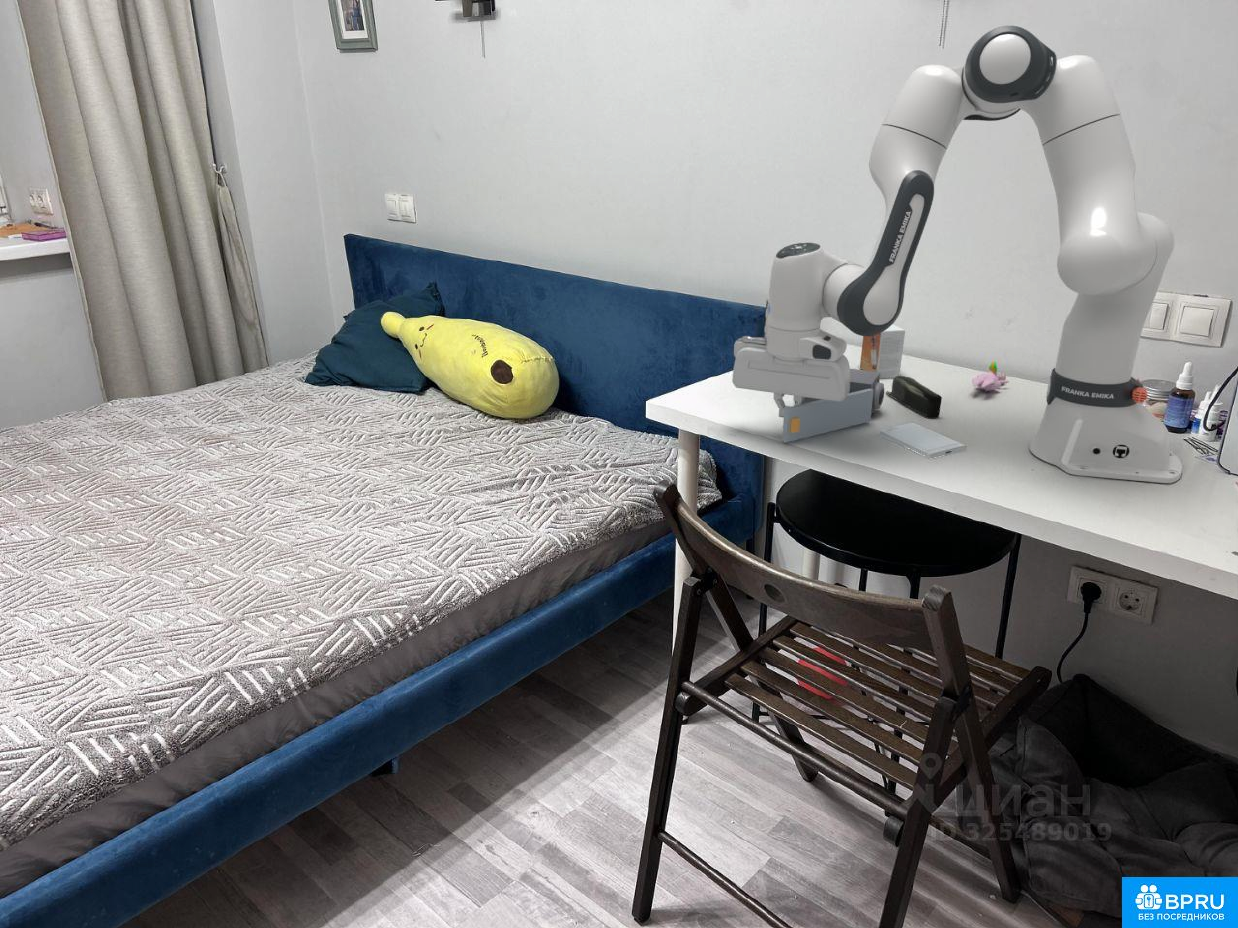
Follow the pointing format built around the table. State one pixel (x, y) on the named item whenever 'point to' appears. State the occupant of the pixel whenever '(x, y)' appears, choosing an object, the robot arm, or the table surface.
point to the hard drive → (922, 440)
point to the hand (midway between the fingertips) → (787, 417)
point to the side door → (826, 415)
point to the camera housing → (863, 386)
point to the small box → (883, 352)
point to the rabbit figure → (990, 379)
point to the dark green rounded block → (916, 396)
